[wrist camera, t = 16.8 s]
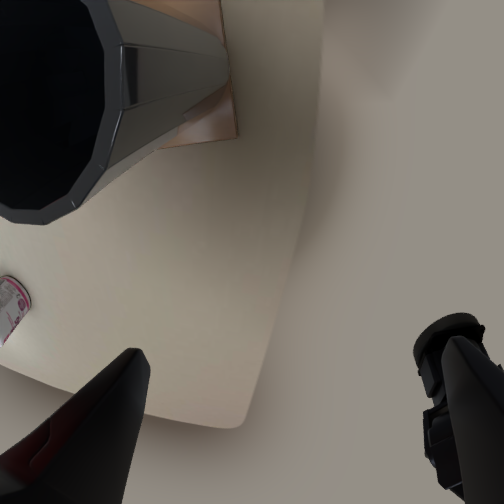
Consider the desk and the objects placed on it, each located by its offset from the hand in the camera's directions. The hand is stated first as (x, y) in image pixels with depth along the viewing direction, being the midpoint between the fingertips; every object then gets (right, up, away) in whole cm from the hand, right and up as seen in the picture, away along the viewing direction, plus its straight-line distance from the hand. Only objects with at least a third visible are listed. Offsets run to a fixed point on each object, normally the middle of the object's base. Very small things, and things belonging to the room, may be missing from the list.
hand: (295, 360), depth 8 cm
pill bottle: (-26, -1, +19) cm, 33 cm away
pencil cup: (-6, +13, +7) cm, 16 cm away
